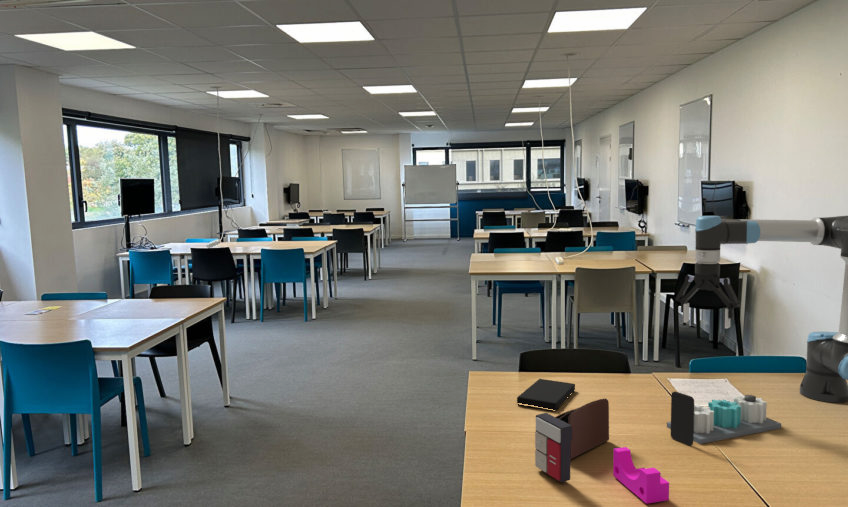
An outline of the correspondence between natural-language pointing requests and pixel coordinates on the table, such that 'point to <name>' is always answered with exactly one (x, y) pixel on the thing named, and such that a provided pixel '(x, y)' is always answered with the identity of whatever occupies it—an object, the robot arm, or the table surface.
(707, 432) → the gear board
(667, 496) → the magenta mounting bracket
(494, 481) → the table surface
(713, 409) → the teal gear
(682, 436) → the phone
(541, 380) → the black book
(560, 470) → the calculator
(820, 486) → the table surface
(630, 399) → the table surface
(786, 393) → the table surface
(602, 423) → the letter holder
